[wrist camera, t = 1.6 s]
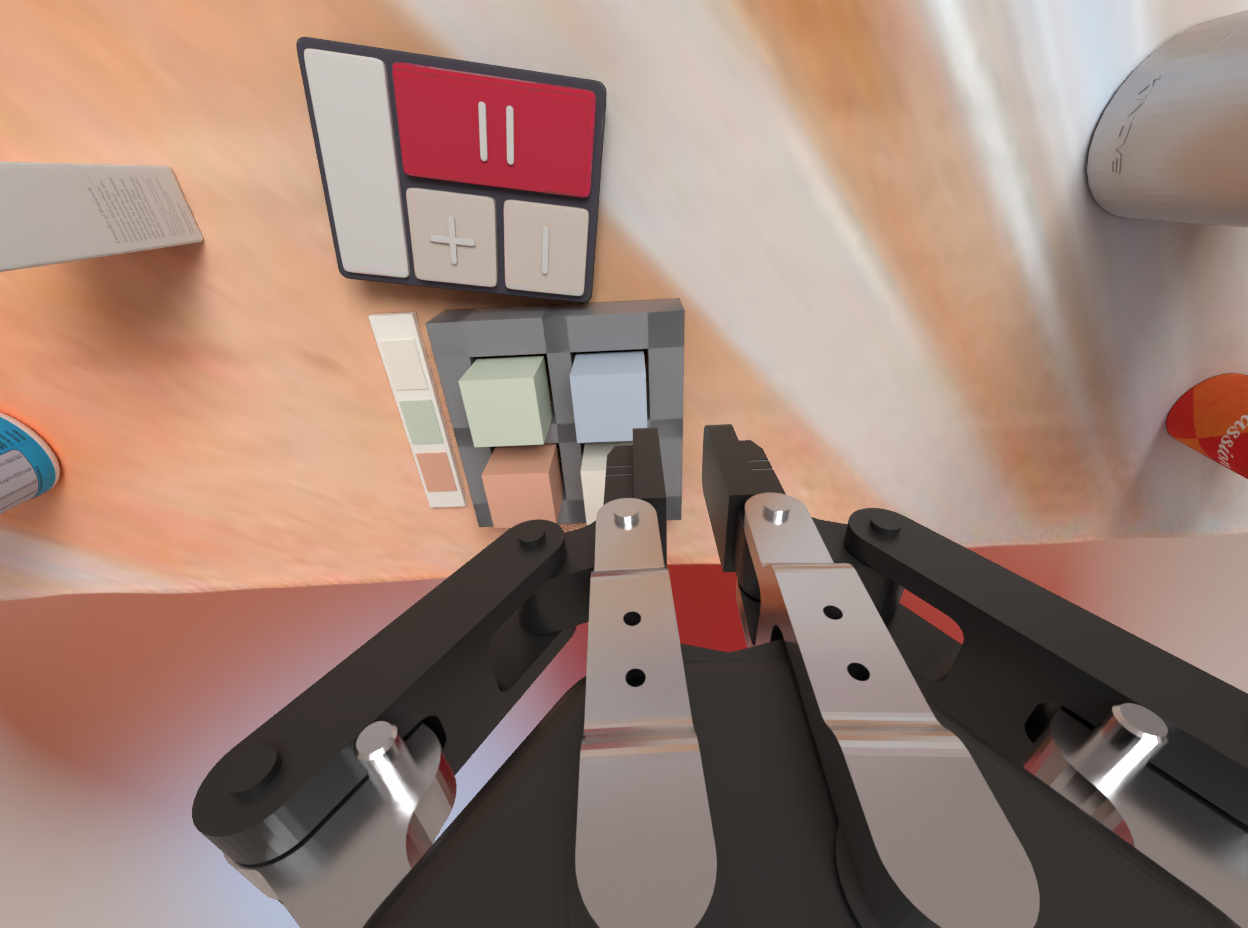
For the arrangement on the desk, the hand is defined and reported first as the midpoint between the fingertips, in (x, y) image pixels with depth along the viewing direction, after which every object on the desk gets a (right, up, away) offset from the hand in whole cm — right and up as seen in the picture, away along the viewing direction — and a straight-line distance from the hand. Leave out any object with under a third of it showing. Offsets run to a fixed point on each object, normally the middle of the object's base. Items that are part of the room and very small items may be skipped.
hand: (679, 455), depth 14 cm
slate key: (-2, +5, +18) cm, 19 cm away
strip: (-17, +3, +23) cm, 29 cm away
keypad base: (-6, +4, +22) cm, 23 cm away
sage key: (-9, +5, +18) cm, 21 cm away
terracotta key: (-9, -1, +21) cm, 23 cm away
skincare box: (-31, +16, +16) cm, 38 cm away
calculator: (-11, +17, +15) cm, 25 cm away
